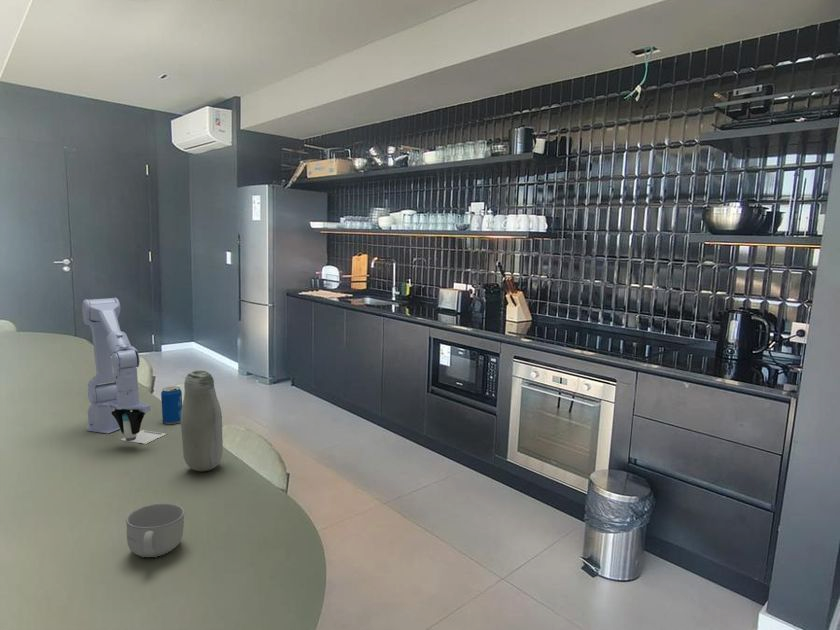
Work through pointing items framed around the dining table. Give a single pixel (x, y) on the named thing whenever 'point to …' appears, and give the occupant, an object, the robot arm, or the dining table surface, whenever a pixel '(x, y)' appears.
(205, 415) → the grey bottle
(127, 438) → the white teal capped bottle
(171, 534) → the teacup
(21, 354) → the dining table surface
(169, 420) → the beverage can
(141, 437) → the white flat panel
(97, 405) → the robot arm
